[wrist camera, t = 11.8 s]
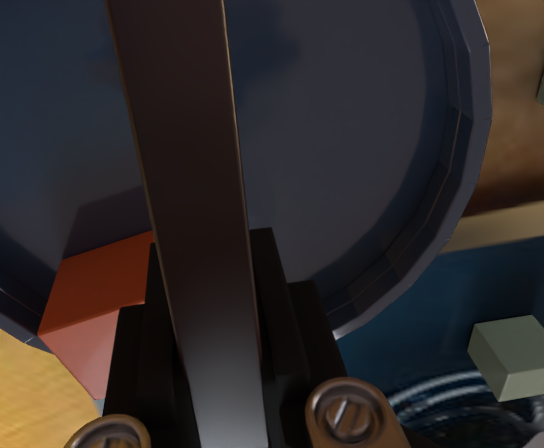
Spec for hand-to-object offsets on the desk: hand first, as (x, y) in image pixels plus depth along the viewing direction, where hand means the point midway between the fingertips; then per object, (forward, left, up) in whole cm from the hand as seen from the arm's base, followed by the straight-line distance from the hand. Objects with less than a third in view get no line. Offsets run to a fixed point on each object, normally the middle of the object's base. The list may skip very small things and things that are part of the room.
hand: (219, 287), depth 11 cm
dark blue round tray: (0, 0, -6) cm, 6 cm away
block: (-2, +4, -4) cm, 6 cm away
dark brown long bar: (0, 0, +3) cm, 3 cm away
